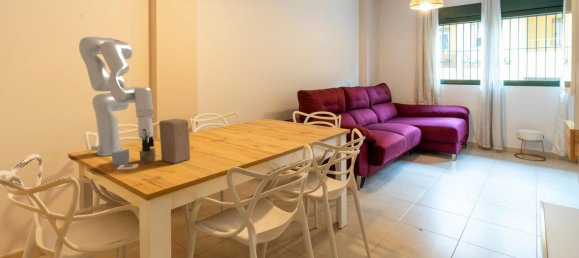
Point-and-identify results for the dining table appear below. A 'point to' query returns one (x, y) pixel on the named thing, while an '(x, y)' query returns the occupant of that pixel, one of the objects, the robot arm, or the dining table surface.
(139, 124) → the robot arm
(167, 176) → the dining table surface
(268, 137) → the dining table surface
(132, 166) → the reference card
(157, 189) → the dining table surface
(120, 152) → the slate-grey cube
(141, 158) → the walnut cube
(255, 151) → the dining table surface
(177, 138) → the wooden block
